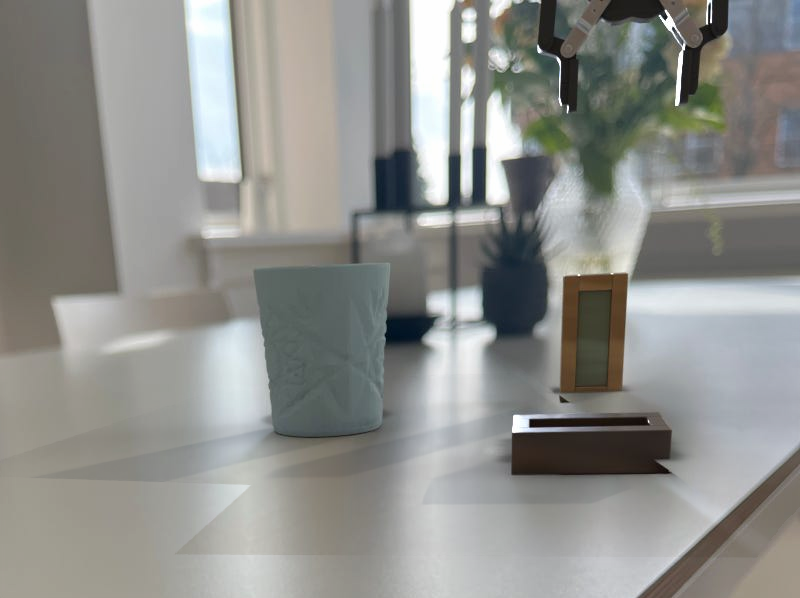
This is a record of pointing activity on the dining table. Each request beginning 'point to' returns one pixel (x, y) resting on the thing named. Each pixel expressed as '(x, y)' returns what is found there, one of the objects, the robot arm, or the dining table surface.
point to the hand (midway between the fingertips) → (625, 108)
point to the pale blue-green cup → (324, 346)
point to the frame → (593, 332)
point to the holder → (590, 443)
